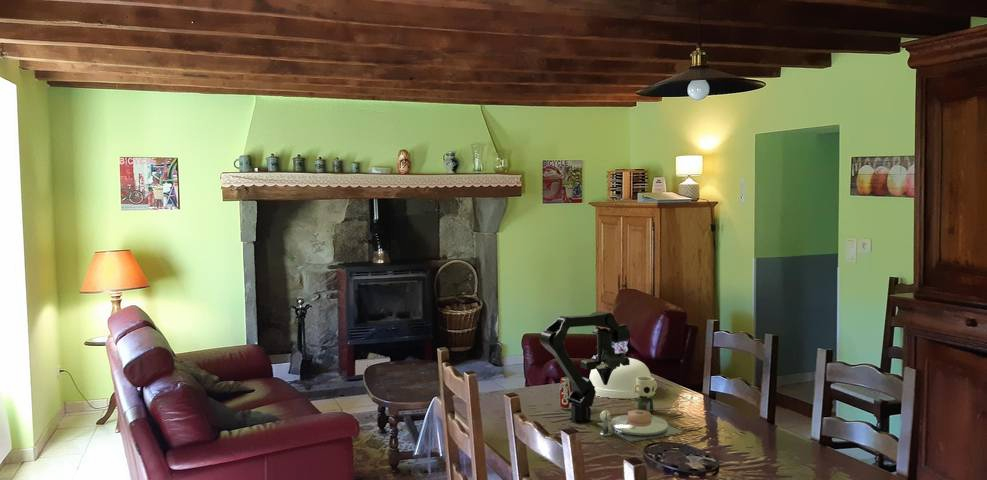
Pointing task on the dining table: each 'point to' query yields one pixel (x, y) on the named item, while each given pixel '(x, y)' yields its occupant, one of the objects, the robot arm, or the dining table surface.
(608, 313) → the robot arm
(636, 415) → the cover
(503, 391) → the dining table surface
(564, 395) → the soda can
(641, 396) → the character mug
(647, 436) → the base plate
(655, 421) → the turntable
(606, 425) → the silver chess pawn
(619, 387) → the dome cover
